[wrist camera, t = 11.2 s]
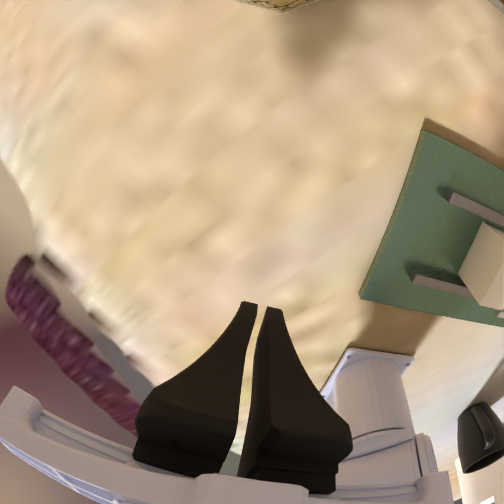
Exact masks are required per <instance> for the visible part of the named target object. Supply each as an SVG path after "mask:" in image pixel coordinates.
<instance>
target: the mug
mask: <svg viewBox="0 0 504 504" xmlns="http://www.w3.org/2000/svg"><path fill="white" fill-rule="evenodd" d="M458 453H459V458H460V463H461V467H462V472H463V473H464V474H469V473H473V472H476V471H478V470H481V469H483V468H485V467H487V466H489V465H491V464H493V463H494V462H496V461H497V460H499V459H500V458H502V457H503V456H504V426H503V424H502V422H501V421H500V419H499V418H498V416H497V415H496V414H495V413H494V411H493V410H492V409H491V408H490V407H489V406H488V404H487V403H485V402H483V403H479V404H476V405H474V406H472V407H470V408H468V409H467V410H465V411H464V412H463V413H462V414H461V415H460V416H459V418H458Z"/></svg>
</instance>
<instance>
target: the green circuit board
mask: <svg viewBox="0 0 504 504" xmlns="http://www.w3.org/2000/svg"><path fill="white" fill-rule="evenodd" d="M482 221H484V222H486V223H488V224H490V225H492V226H495V227H497V228H499V229H501V230H503V231H504V171H503V170H501V169H499V168H498V167H496V166H494V165H492V164H491V163H489V162H487V161H485V160H484V159H482V158H480V157H478V156H476V155H474V154H473V153H471V152H469V151H467V150H465V149H463V148H461V147H459V146H457V145H455V144H453V143H451V142H449V141H447V140H445V139H443V138H441V137H438V136H436V135H434V134H432V133H430V132H427V131H425V130H421V133H420V137H419V140H418V143H417V146H416V149H415V153H414V156H413V159H412V162H411V165H410V168H409V171H408V174H407V177H406V180H405V182H404V185H403V188H402V191H401V194H400V196H399V199H398V202H397V204H396V207H395V210H394V212H393V215H392V217H391V220H390V222H389V225H388V227H387V230H386V232H385V235H384V237H383V240H382V242H381V244H380V247H379V249H378V251H377V254H376V256H375V258H374V261H373V263H372V265H371V267H370V270H369V272H368V274H367V276H366V278H365V281H364V283H363V285H362V287H361V289H360V291H359V296H360V299H363V300H368V301H372V302H377V303H382V304H387V305H392V306H396V307H401V308H406V309H411V310H416V311H421V312H426V313H431V314H436V315H441V316H446V317H451V318H456V319H462V320H467V321H472V322H477V323H483V324H488V325H494V326H499V327H504V308H503V309H502V310H498V309H494V308H489V307H485V306H481V305H479V304H478V302H477V301H476V299H475V298H474V296H473V295H472V293H471V292H470V291H469V289H468V288H467V286H466V285H465V283H464V282H463V281H462V279H461V278H460V276H459V275H458V274H457V273H458V271H459V269H460V267H461V265H462V263H463V261H464V260H465V258H466V256H467V254H468V251H469V249H470V247H471V245H472V243H473V241H474V239H475V237H476V235H477V232H478V230H479V228H480V226H481V224H482Z"/></svg>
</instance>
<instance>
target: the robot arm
mask: <svg viewBox="0 0 504 504" xmlns="http://www.w3.org/2000/svg"><path fill="white" fill-rule="evenodd" d="M257 307H258V304H254V303H250V302H246V301H243V302H241V304H240V307H239V309H238V311H237V313H236V315H235V317H234V318H233V320H232V321H231V323H230V324H229V326H228V327H227V328H226V330H225V331H224V332H223V334H222V335H221V336H220V337H219V338H218V340H217V341H216V342H215V343H214V344H213V345H212V346H211V347H210V348H209V349H208V350H207V351H206V352H205V353H204V354H203V355H202V356H201V357H200V358H198V359H197V360H196V361H195V362H194V363H193V364H191V365H190V366H189V367H187V368H186V369H185V370H183V371H182V372H180V373H179V374H177V375H176V376H174V377H173V378H171V379H170V380H168V381H166V382H164V383H162V384H161V385H159V386H157V387H155V388H154V389H153V390H152V391H151V393H150V394H149V395H148V397H147V398H146V399H145V400H144V402H143V404H142V405H141V407H140V409H139V411H138V414H137V416H136V419H135V426H136V430H137V434H138V440H137V442H136V445H135V448H134V450H133V449H131V448H128V447H125V446H122V445H119V444H117V443H114V442H112V441H109V440H107V439H105V438H102V437H100V436H97V435H95V434H93V433H90V432H88V431H86V430H83V429H81V428H79V427H77V426H75V425H73V424H71V423H69V422H66V421H65V420H62V419H61V418H59V417H57V416H55V415H53V414H51V413H49V412H47V411H45V410H44V409H43V408H42V406H41V404H40V402H39V401H38V400H37V399H36V398H34V397H33V396H31V395H30V394H28V393H26V392H24V391H23V390H21V389H20V388H18V387H16V386H13V387H12V389H11V390H10V392H9V394H8V395H7V397H6V398H5V400H4V401H3V403H2V404H1V406H0V441H1V442H2V443H3V444H4V445H5V446H6V447H7V448H8V449H9V450H10V451H11V452H12V453H13V454H15V455H16V456H18V457H19V458H21V459H22V460H24V461H25V462H27V463H28V464H30V465H31V466H33V467H35V468H36V469H38V470H39V471H41V472H43V473H45V474H46V475H48V476H49V477H51V478H53V479H55V480H56V481H58V482H60V483H62V484H63V485H65V486H67V487H69V488H71V489H73V490H74V491H76V492H78V493H80V494H83V495H84V496H86V497H88V498H90V499H92V500H95V501H97V502H99V503H101V504H454V503H453V496H452V490H451V485H450V479H449V474H448V471H441V472H438V469H437V464H436V459H435V455H434V450H433V447H432V443H431V440H430V437H429V436H427V435H424V433H420V434H417V436H416V434H415V431H414V428H413V423H412V419H411V414H410V410H409V406H408V402H407V398H406V394H405V390H404V386H403V382H402V378H401V377H402V376H403V375H404V374H405V372H406V371H407V370H408V368H409V367H410V366H411V365H412V363H413V362H414V357H413V356H407V355H399V354H392V353H385V352H378V351H371V350H364V349H358V348H348V349H347V350H346V351H345V353H344V355H343V357H342V358H341V360H340V362H339V363H338V365H337V366H336V368H335V370H334V371H333V373H332V374H331V376H330V378H329V379H328V381H327V382H326V384H325V386H324V387H323V389H322V390H321V392H319V391H318V390H317V388H316V387H315V386H314V384H313V383H312V381H311V379H310V378H309V376H308V374H307V373H306V371H305V369H304V367H303V366H302V364H301V362H300V360H299V357H298V355H297V353H296V351H295V349H294V346H293V344H292V341H291V338H290V336H289V333H288V330H287V327H286V324H285V320H284V316H283V312H282V310H281V309H277V308H272V307H268V306H267V309H266V312H265V315H264V319H263V322H262V325H261V328H260V331H259V334H258V338H257V342H256V348H255V354H254V362H253V378H252V395H251V406H250V412H249V418H248V423H247V429H246V434H245V439H244V444H243V449H242V454H241V459H240V464H239V468H238V473H237V476H231V475H226V474H221V473H219V471H220V469H221V467H222V464H223V462H224V461H225V459H226V457H227V454H228V452H229V450H230V447H231V445H232V443H233V440H234V438H235V435H236V430H237V424H238V414H239V404H240V394H241V385H242V377H243V370H244V363H245V356H246V350H247V346H248V343H249V340H250V336H251V333H252V329H253V326H254V323H255V319H256V316H257ZM349 355H350V356H349Z"/></svg>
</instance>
